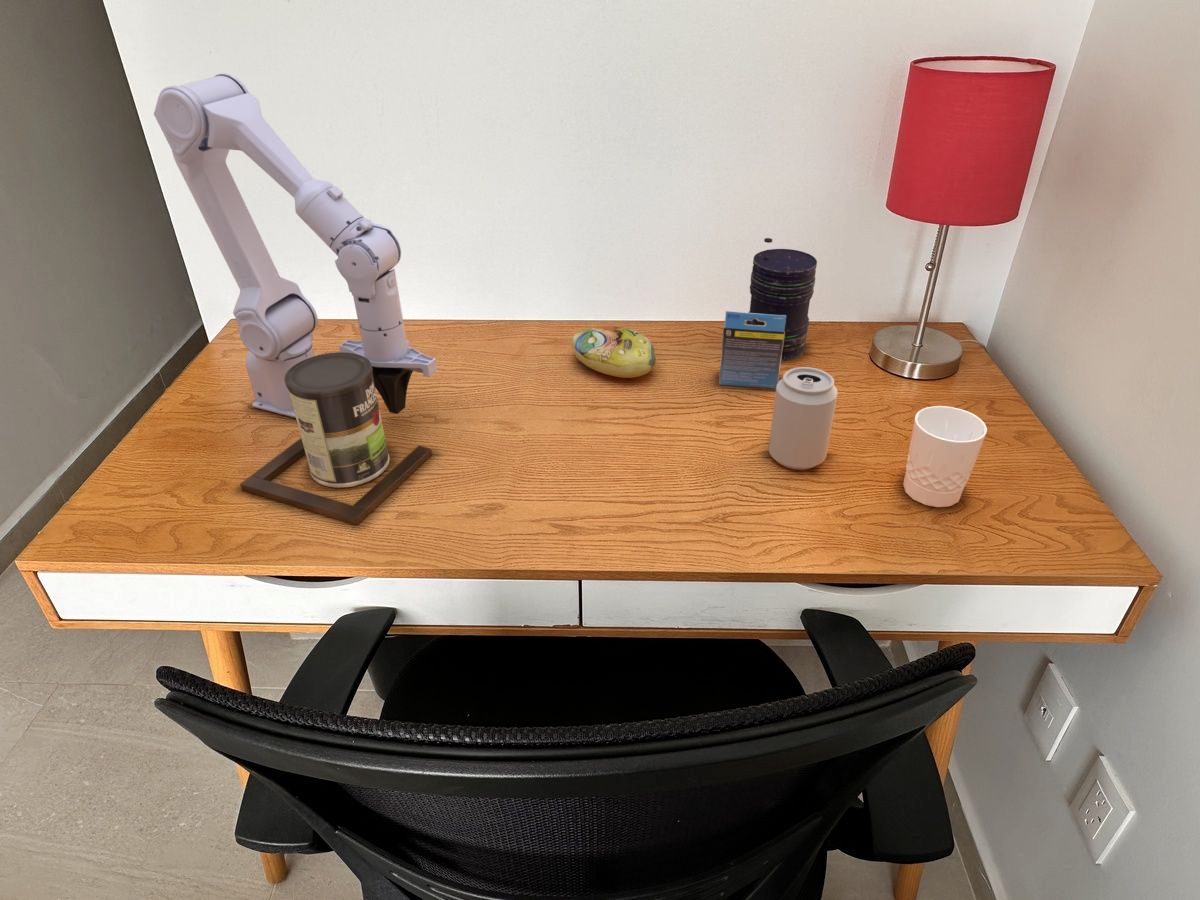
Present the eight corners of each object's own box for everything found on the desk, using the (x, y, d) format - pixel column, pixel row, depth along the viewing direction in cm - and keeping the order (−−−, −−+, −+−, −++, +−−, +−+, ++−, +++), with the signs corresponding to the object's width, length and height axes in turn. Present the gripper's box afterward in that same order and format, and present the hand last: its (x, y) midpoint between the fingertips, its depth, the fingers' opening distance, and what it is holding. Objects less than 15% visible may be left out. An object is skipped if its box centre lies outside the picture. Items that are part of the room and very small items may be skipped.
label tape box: (777, 377, 122) (786, 303, 115) (777, 391, 119) (787, 315, 112) (719, 373, 124) (725, 300, 117) (718, 386, 120) (724, 311, 113)
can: (828, 446, 107) (842, 367, 100) (822, 478, 101) (837, 396, 94) (772, 437, 109) (782, 359, 102) (763, 467, 103) (773, 387, 96)
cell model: (625, 382, 117) (558, 320, 122) (619, 411, 123) (556, 351, 128) (676, 345, 121) (609, 287, 126) (668, 376, 128) (605, 319, 133)
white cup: (957, 518, 94) (979, 449, 88) (890, 497, 97) (907, 429, 92) (971, 484, 99) (992, 417, 94) (907, 465, 103) (924, 399, 97)
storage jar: (805, 336, 134) (821, 231, 124) (804, 363, 126) (821, 254, 116) (746, 331, 136) (756, 227, 126) (741, 357, 128) (751, 249, 118)
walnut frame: (241, 490, 100) (239, 484, 100) (324, 426, 112) (323, 420, 112) (357, 525, 94) (355, 519, 94) (432, 454, 106) (431, 448, 106)
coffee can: (401, 445, 108) (383, 353, 100) (373, 491, 100) (352, 394, 92) (329, 440, 110) (306, 349, 101) (296, 485, 101) (268, 389, 93)
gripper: (444, 318, 105) (456, 406, 113) (355, 301, 110) (372, 386, 118) (413, 341, 100) (428, 431, 108) (321, 322, 105) (342, 409, 112)
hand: (397, 409), depth 112 cm, fingers closed
